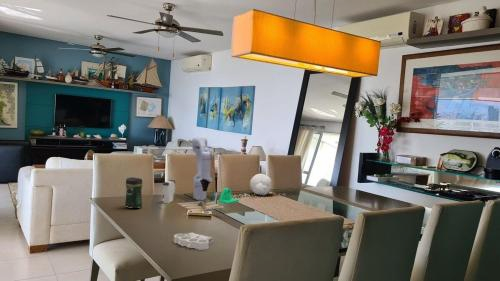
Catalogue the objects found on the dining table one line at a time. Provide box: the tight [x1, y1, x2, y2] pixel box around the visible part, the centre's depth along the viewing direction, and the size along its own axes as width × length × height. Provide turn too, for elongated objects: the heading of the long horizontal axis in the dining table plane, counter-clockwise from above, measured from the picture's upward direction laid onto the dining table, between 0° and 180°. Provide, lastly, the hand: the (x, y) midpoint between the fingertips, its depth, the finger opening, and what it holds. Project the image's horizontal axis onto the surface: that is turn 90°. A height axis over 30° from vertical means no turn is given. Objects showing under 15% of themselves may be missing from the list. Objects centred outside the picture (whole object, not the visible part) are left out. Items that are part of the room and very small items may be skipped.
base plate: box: [176, 197, 223, 212], centre depth 242 cm, size 21×22×4 cm
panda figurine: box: [162, 179, 176, 204], centre depth 248 cm, size 12×11×15 cm
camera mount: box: [218, 187, 240, 204], centre depth 257 cm, size 12×8×10 cm, turn 140°
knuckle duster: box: [173, 232, 214, 251], centre depth 173 cm, size 3×18×15 cm
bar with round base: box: [198, 200, 206, 208], centre depth 239 cm, size 5×12×2 cm, turn 16°
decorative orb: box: [249, 173, 272, 196], centre depth 292 cm, size 20×18×16 cm
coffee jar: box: [124, 177, 143, 208], centre depth 234 cm, size 10×8×19 cm
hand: (204, 191), depth 248 cm, fingers closed
